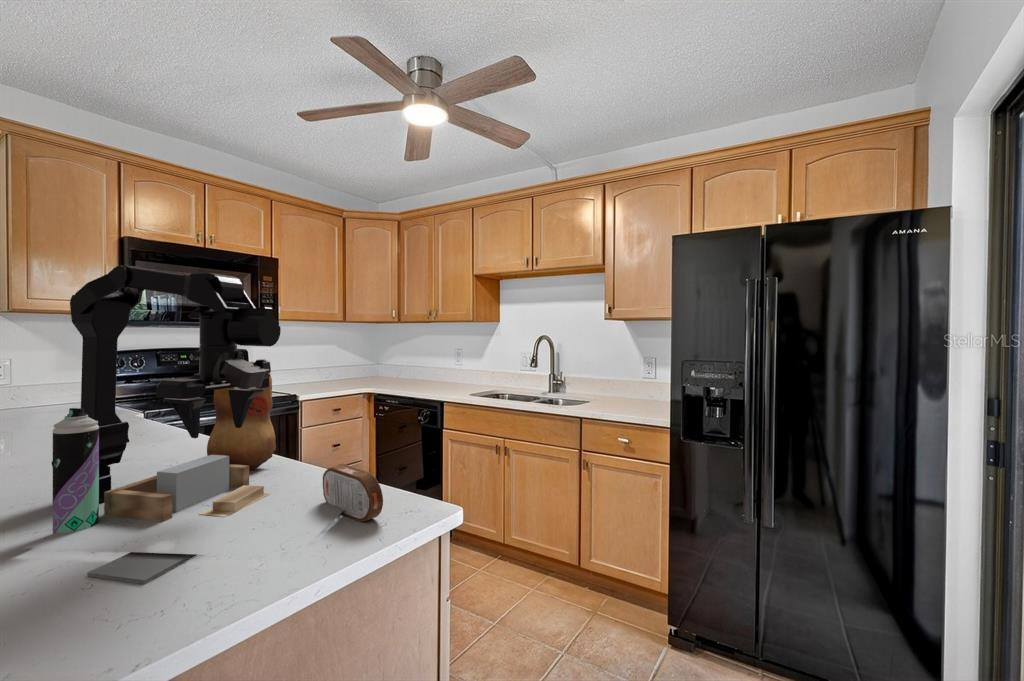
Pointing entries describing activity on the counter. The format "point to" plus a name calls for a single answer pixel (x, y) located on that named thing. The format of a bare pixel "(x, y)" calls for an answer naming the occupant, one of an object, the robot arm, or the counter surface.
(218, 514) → the offcut lower
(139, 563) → the mat
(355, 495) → the tin
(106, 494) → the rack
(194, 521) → the counter surface
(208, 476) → the gray rectangular block
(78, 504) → the spray can
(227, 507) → the offcut upper
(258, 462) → the butternut squash
